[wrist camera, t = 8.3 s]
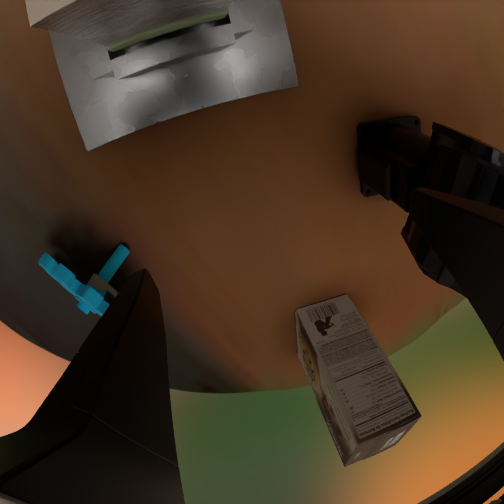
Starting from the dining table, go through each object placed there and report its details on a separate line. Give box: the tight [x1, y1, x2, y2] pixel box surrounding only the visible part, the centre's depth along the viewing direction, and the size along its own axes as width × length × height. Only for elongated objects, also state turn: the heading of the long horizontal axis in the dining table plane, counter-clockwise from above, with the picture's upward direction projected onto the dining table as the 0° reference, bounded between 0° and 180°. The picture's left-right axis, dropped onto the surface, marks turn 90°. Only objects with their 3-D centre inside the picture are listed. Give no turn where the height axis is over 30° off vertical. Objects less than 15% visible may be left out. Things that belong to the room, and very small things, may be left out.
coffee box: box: [295, 294, 421, 467], centre depth 27 cm, size 9×6×16 cm
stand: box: [49, 0, 299, 151], centre depth 11 cm, size 14×14×7 cm
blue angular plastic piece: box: [38, 244, 130, 316], centre depth 21 cm, size 11×6×10 cm
